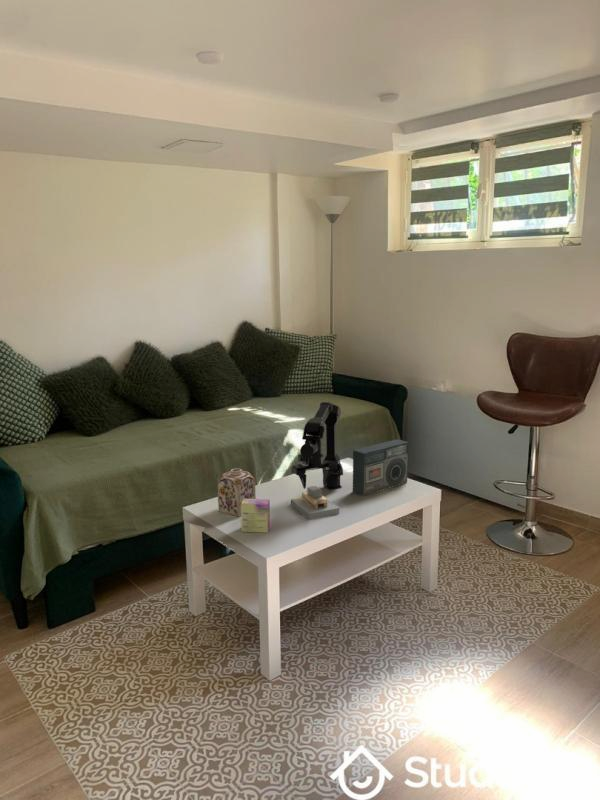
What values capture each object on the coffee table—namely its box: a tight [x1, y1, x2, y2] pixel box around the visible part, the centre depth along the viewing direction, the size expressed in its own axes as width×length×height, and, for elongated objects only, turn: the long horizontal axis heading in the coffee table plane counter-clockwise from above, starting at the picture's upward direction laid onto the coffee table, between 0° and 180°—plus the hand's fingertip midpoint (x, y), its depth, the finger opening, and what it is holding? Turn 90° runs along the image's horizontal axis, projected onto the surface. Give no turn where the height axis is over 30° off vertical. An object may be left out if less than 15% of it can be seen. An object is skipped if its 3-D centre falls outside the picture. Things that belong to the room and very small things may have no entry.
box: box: [240, 498, 271, 534], centre depth 236 cm, size 10×6×12 cm, turn 84°
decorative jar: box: [217, 468, 257, 518], centre depth 255 cm, size 12×12×18 cm
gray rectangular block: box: [306, 485, 323, 498], centre depth 256 cm, size 4×6×3 cm, turn 26°
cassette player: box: [352, 438, 410, 497], centre depth 282 cm, size 29×7×20 cm, turn 128°
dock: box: [290, 496, 340, 520], centre depth 257 cm, size 14×18×2 cm
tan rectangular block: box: [301, 491, 328, 509], centre depth 257 cm, size 6×12×4 cm, turn 25°
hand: (314, 486), depth 255 cm, fingers open, 9 cm apart
